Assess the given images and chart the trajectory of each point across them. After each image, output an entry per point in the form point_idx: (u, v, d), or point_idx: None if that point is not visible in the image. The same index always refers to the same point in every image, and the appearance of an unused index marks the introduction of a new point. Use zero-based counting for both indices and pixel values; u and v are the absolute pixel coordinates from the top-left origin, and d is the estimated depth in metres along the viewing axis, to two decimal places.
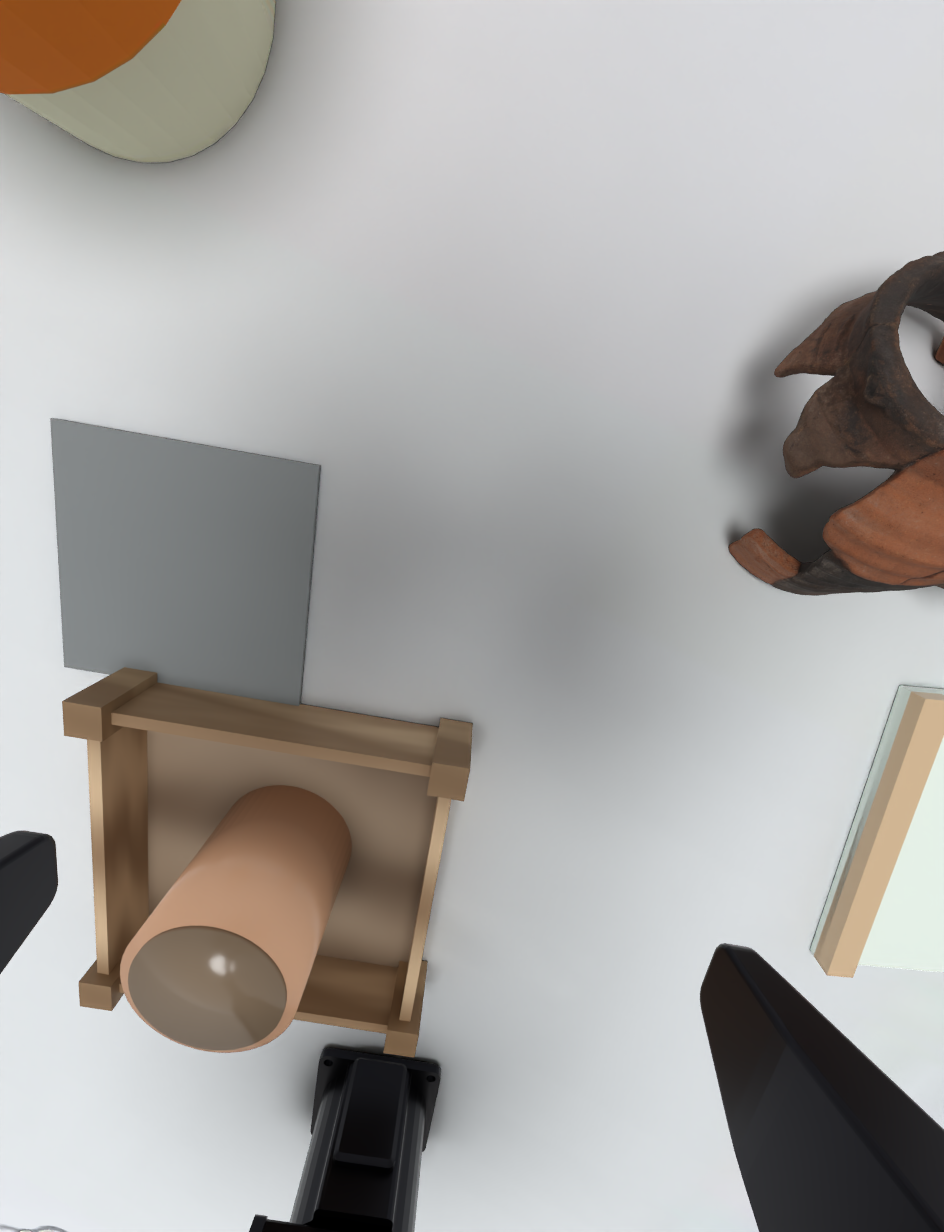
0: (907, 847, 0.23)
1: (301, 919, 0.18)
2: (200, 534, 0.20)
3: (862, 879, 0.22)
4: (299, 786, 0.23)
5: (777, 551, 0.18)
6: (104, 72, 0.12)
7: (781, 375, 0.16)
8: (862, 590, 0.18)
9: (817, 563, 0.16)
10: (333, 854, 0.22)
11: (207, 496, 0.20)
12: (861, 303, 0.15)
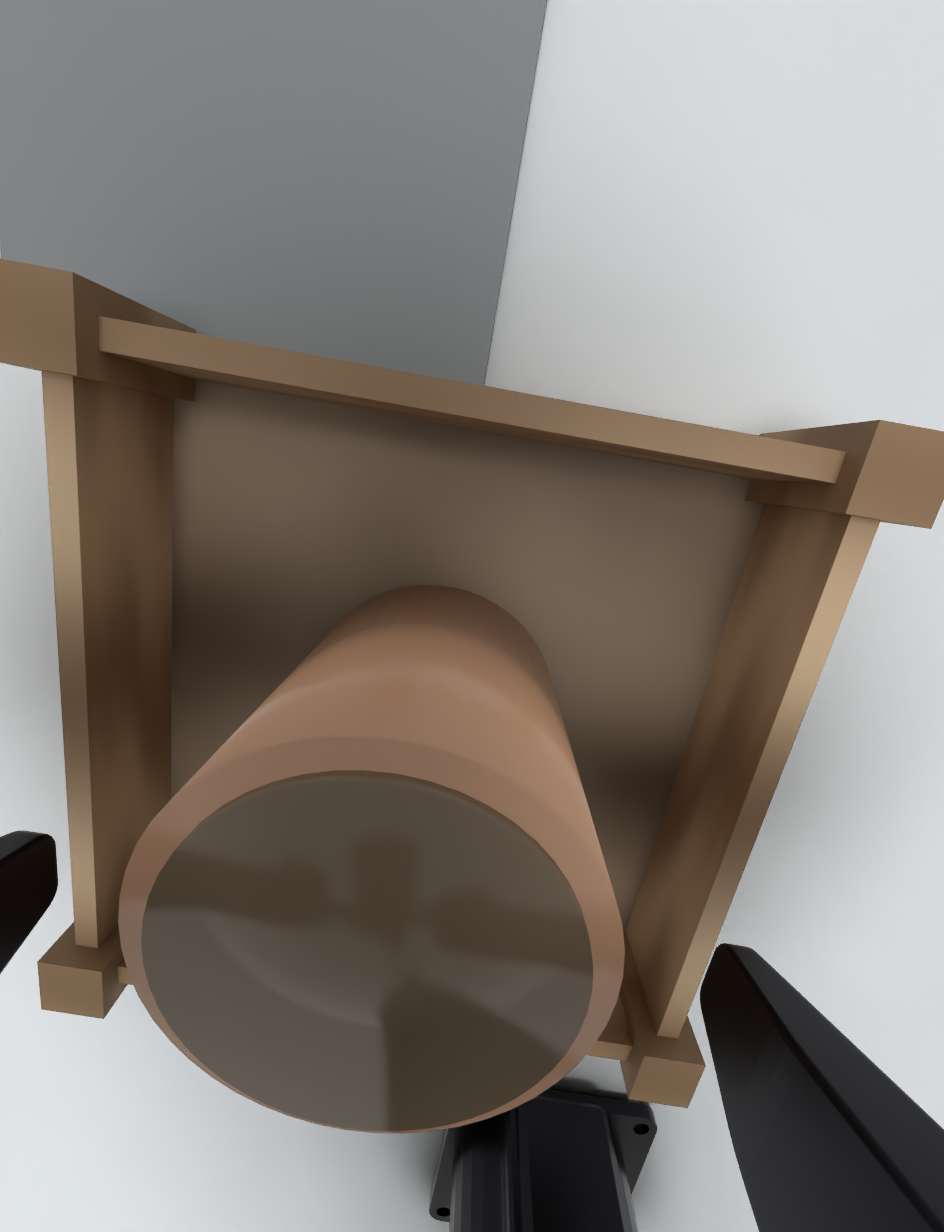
0: None
1: (581, 792, 0.07)
2: None
3: None
4: (464, 587, 0.12)
5: None
6: None
7: None
8: None
9: None
10: None
11: None
12: None
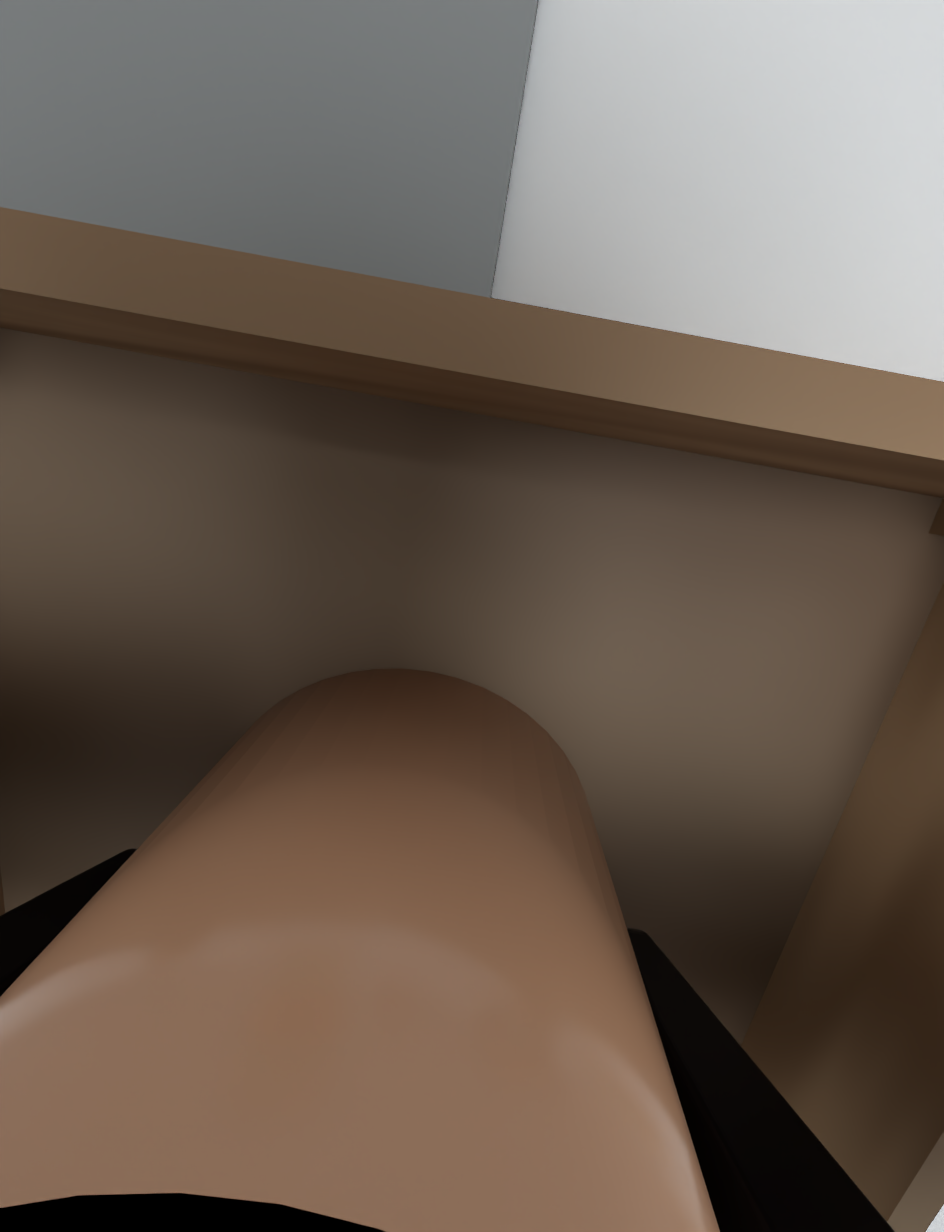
0: None
1: None
2: None
3: None
4: (453, 672, 0.07)
5: None
6: None
7: None
8: None
9: None
10: (616, 895, 0.06)
11: None
12: None
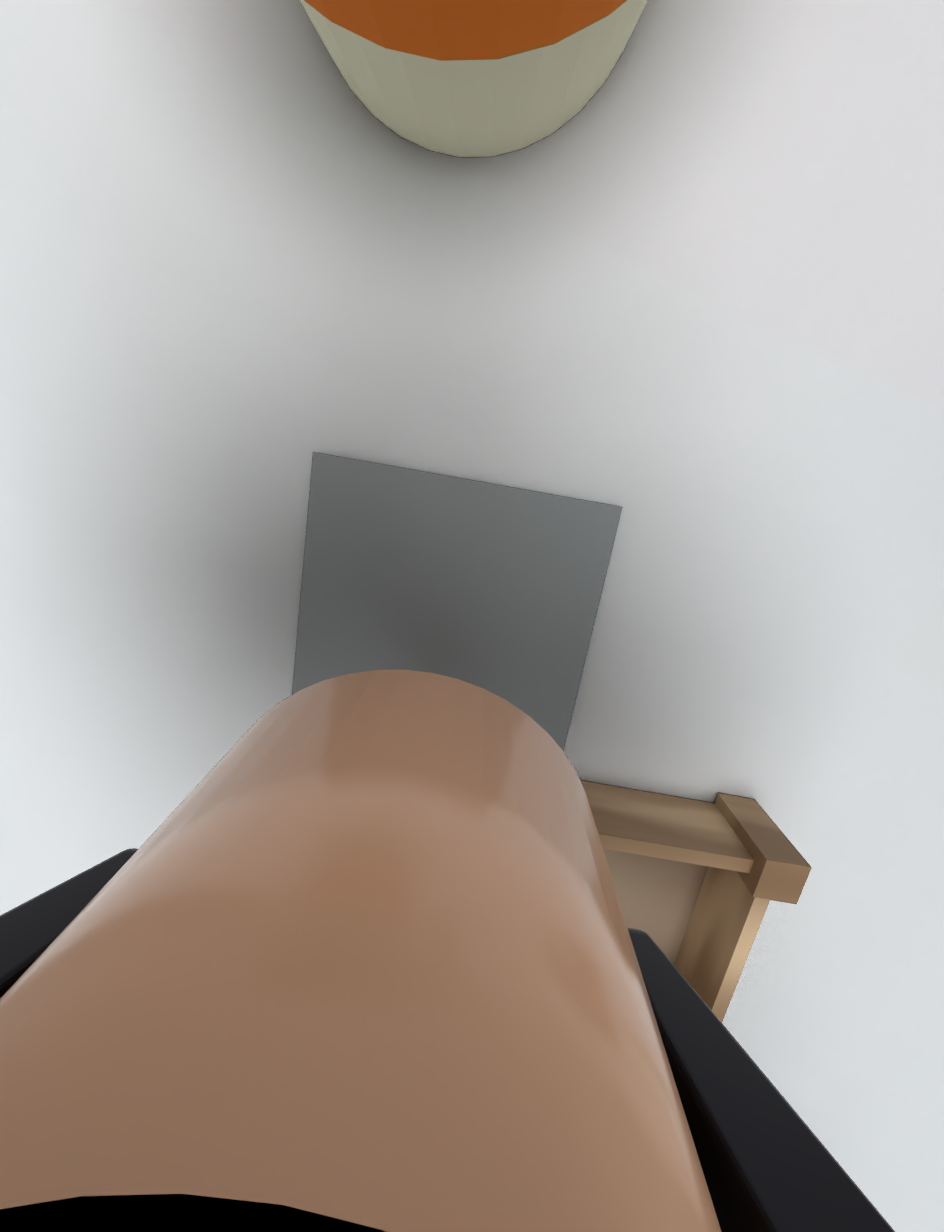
0: None
1: None
2: (470, 585, 0.17)
3: None
4: None
5: None
6: (570, 31, 0.10)
7: None
8: None
9: None
10: None
11: (485, 541, 0.17)
12: None
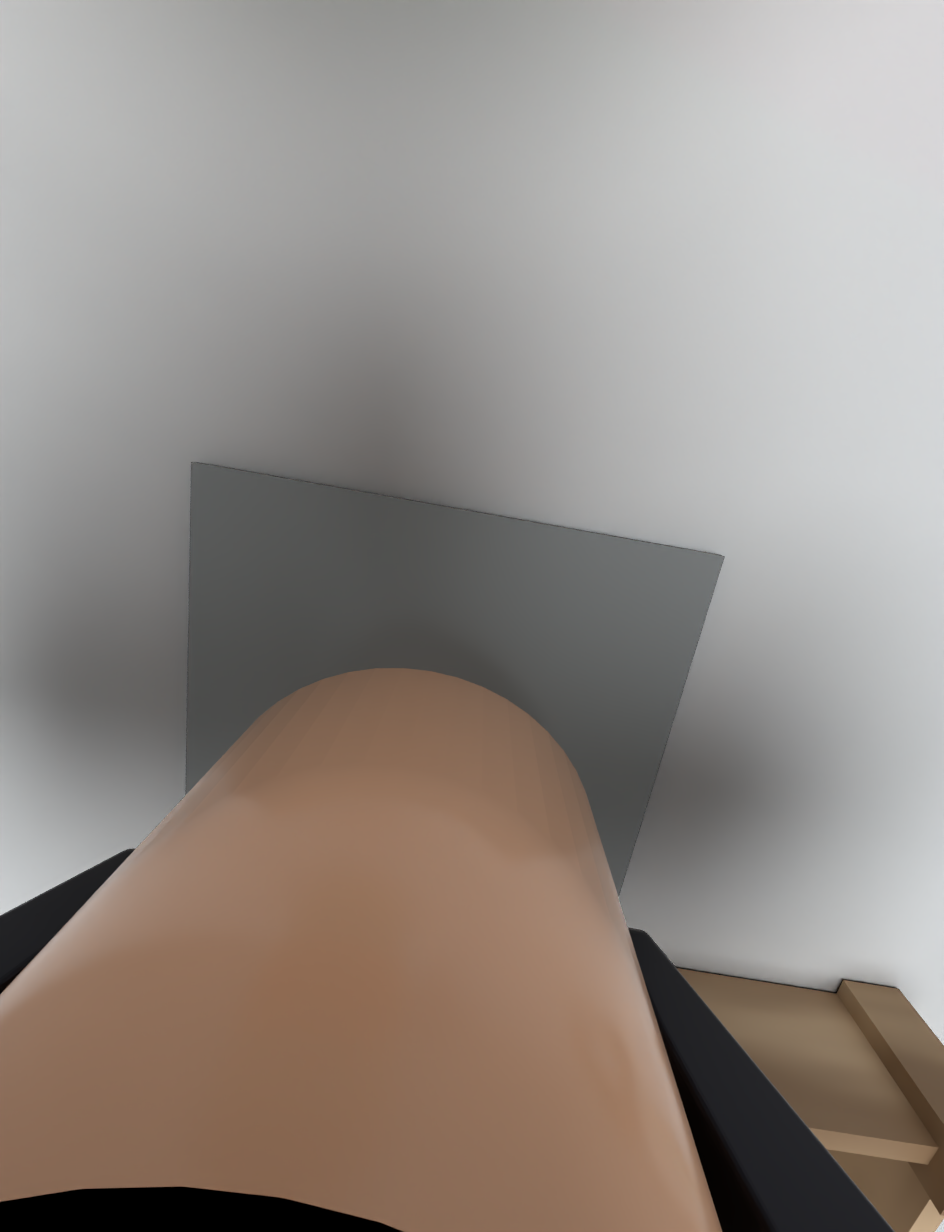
0: None
1: None
2: None
3: None
4: None
5: None
6: None
7: None
8: None
9: None
10: (617, 896, 0.06)
11: (489, 612, 0.10)
12: None
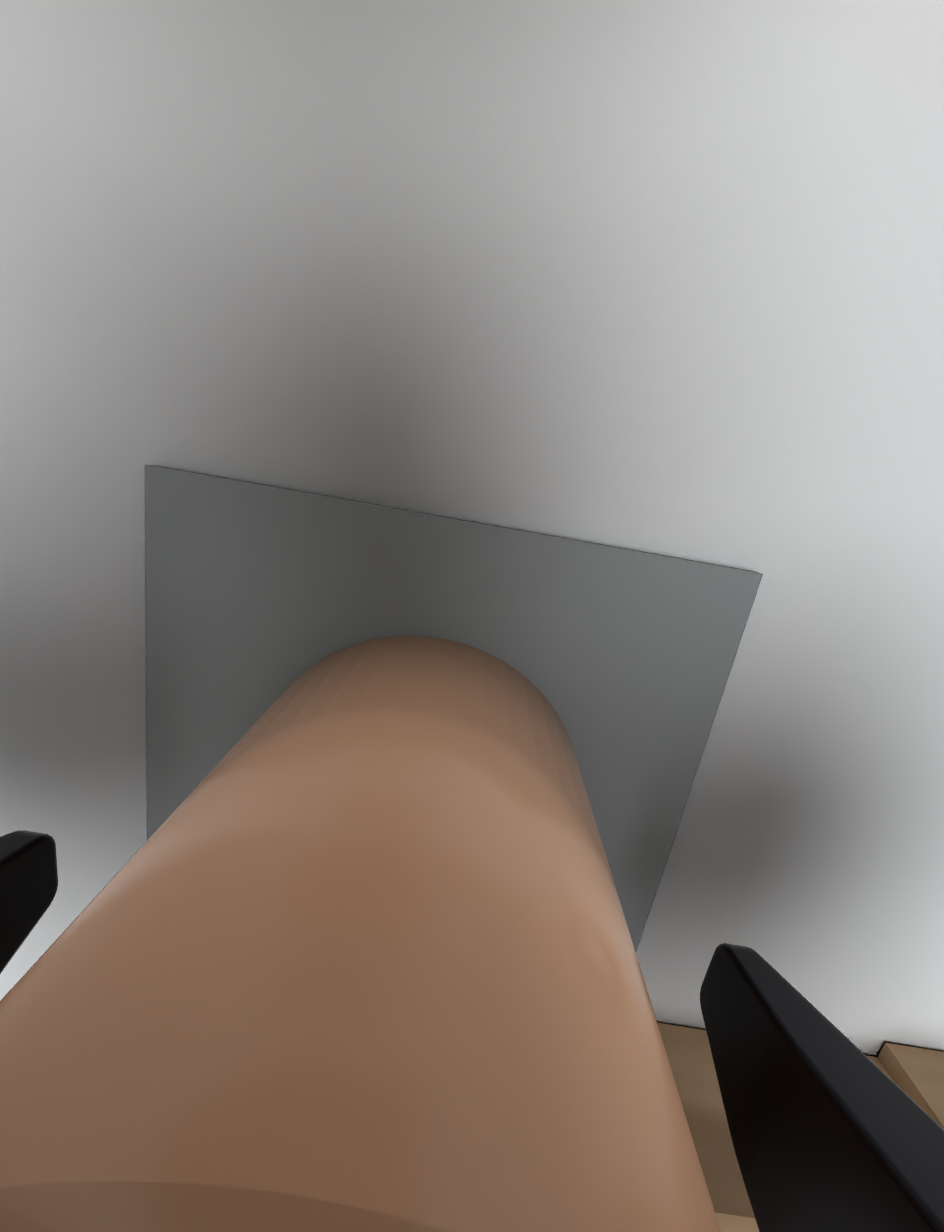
0: None
1: (668, 1076, 0.04)
2: None
3: None
4: None
5: None
6: None
7: None
8: None
9: None
10: (592, 812, 0.07)
11: (490, 637, 0.09)
12: None
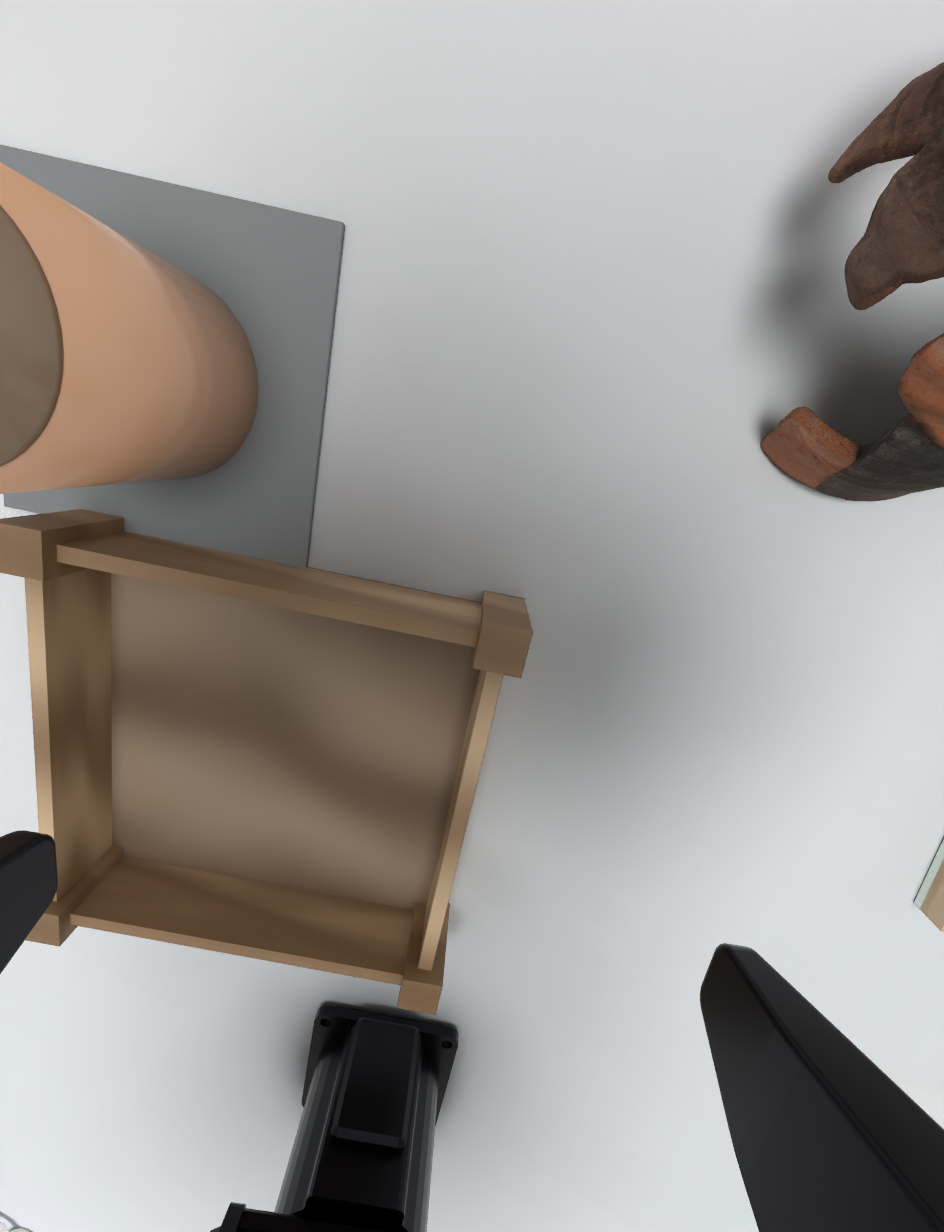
0: None
1: (113, 266, 0.10)
2: None
3: None
4: (302, 676, 0.18)
5: (828, 433, 0.14)
6: None
7: (838, 178, 0.12)
8: (937, 483, 0.14)
9: (887, 436, 0.12)
10: (214, 325, 0.13)
11: (192, 264, 0.15)
12: None
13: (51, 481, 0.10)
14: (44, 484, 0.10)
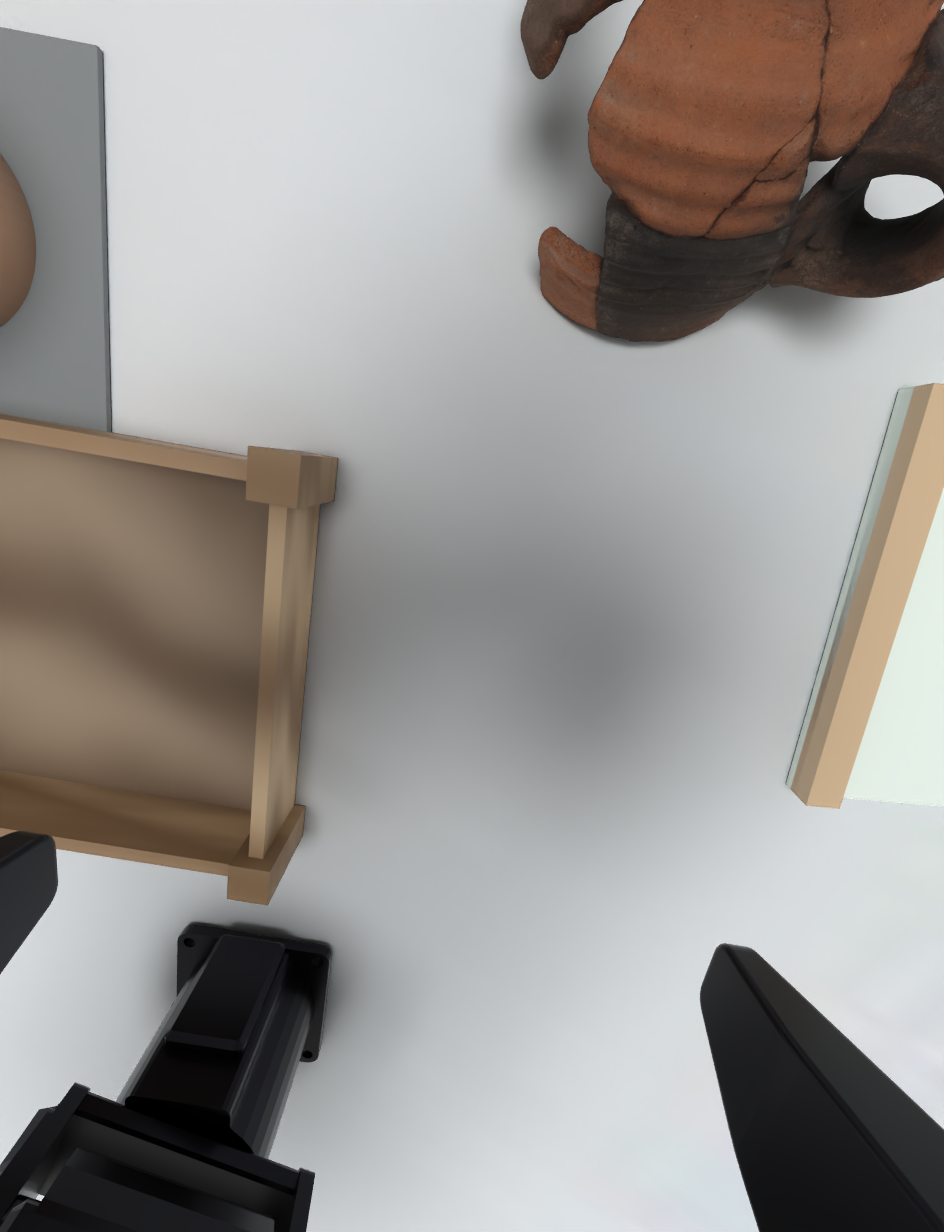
0: (909, 626, 0.17)
1: None
2: None
3: (850, 664, 0.17)
4: (119, 553, 0.18)
5: (574, 249, 0.13)
6: None
7: None
8: (695, 298, 0.13)
9: (605, 228, 0.12)
10: None
11: None
12: None
13: None
14: None
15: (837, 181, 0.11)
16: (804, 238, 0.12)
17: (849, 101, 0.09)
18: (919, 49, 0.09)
